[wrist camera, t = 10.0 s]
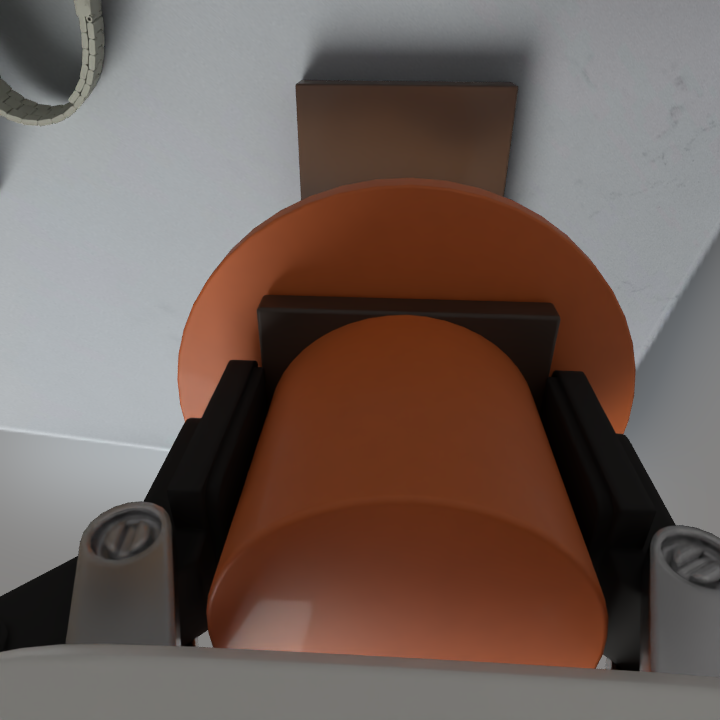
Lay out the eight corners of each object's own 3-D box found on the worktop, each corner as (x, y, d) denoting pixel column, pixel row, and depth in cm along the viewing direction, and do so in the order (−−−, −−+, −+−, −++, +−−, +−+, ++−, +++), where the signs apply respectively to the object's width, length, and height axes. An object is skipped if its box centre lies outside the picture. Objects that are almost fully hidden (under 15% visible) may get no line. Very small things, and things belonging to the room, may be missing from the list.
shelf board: (300, 79, 25) (295, 83, 23) (512, 81, 24) (519, 85, 23) (310, 293, 30) (306, 305, 28) (484, 298, 29) (488, 311, 28)
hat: (148, 172, 11) (-80, 315, 6) (685, 182, 10) (972, 346, 5) (214, 538, 16) (126, 789, 11) (576, 555, 16) (666, 825, 10)
